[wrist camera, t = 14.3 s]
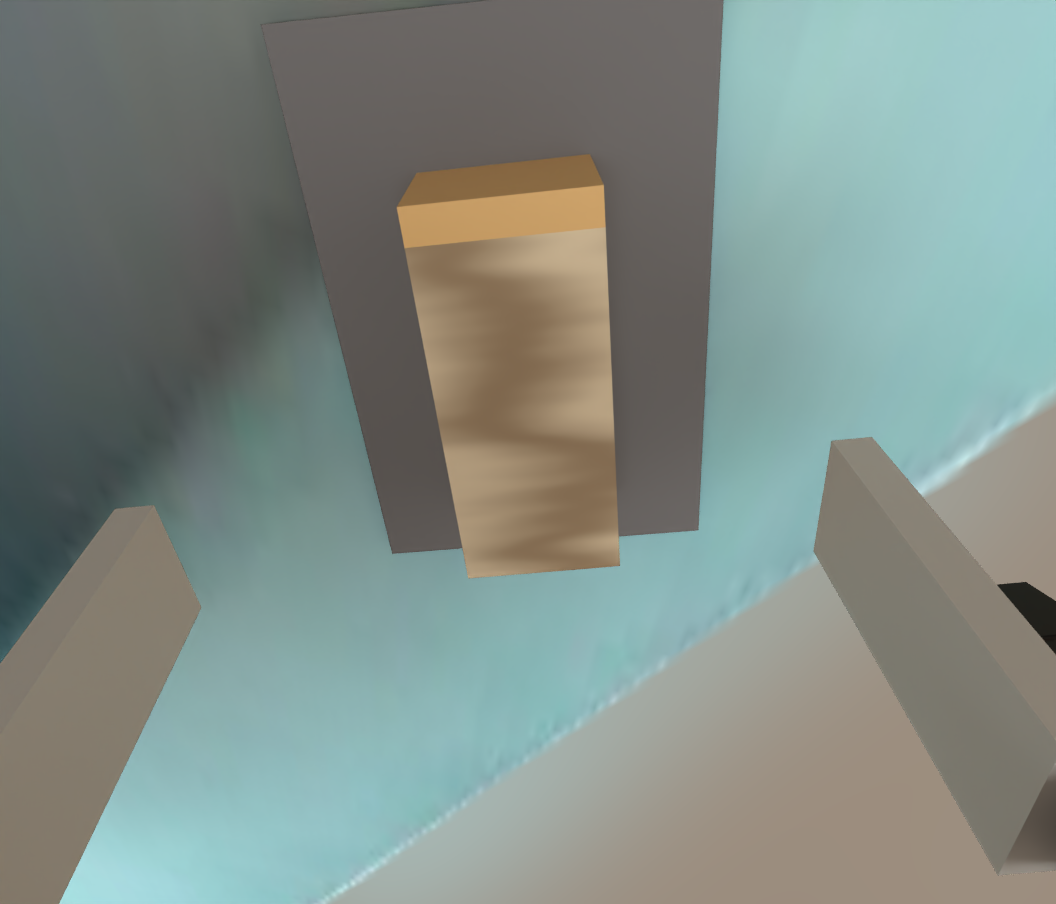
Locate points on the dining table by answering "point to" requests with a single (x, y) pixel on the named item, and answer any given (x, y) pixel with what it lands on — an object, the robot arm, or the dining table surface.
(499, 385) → the maple block
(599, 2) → the rubber mat
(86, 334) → the dining table surface
